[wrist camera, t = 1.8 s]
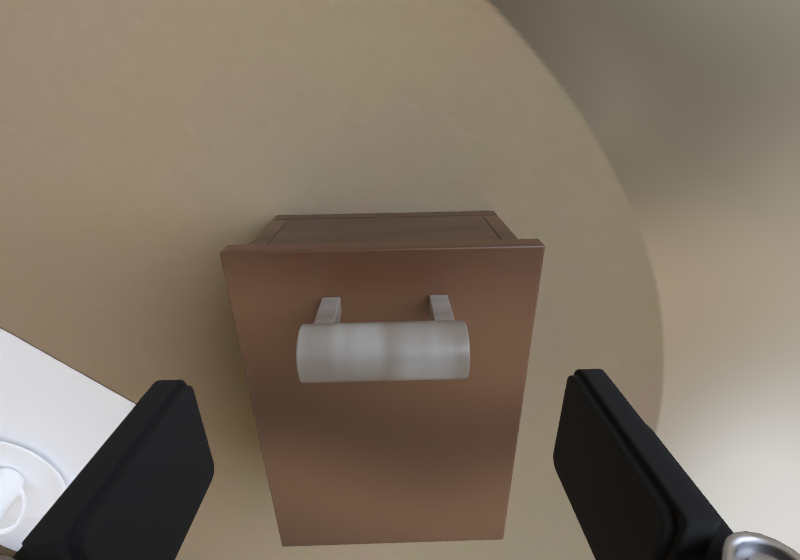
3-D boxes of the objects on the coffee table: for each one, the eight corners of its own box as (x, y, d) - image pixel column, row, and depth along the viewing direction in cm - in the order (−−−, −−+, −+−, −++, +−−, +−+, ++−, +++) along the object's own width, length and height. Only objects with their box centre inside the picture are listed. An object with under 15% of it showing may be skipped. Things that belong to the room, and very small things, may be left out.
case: (276, 215, 22) (231, 264, 15) (494, 210, 22) (535, 257, 16) (308, 434, 28) (285, 531, 22) (475, 430, 28) (499, 524, 22)
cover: (226, 244, 15) (160, 306, 11) (538, 238, 15) (598, 296, 11) (285, 532, 22) (259, 640, 18) (499, 525, 22) (526, 631, 18)
